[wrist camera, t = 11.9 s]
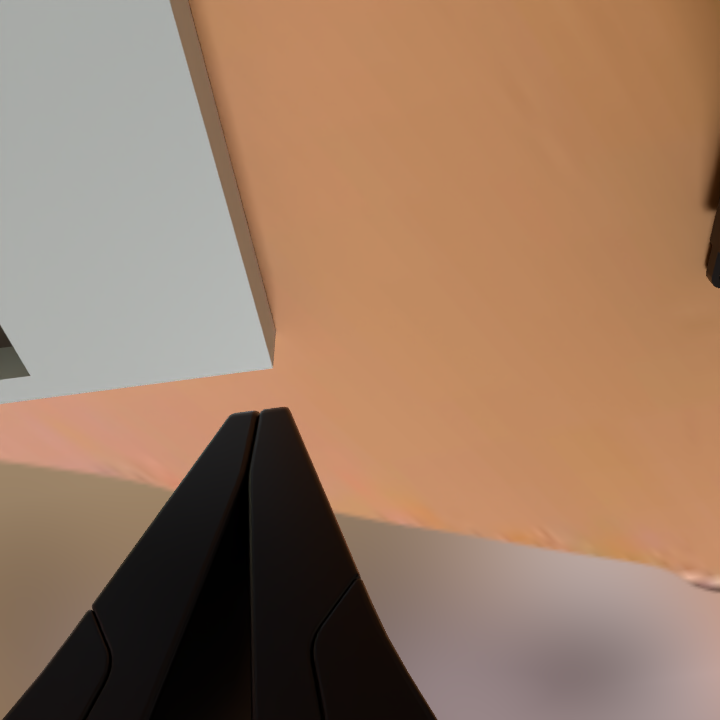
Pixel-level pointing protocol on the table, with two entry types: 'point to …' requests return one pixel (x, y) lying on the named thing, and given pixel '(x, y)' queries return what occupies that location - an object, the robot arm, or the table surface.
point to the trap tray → (118, 206)
